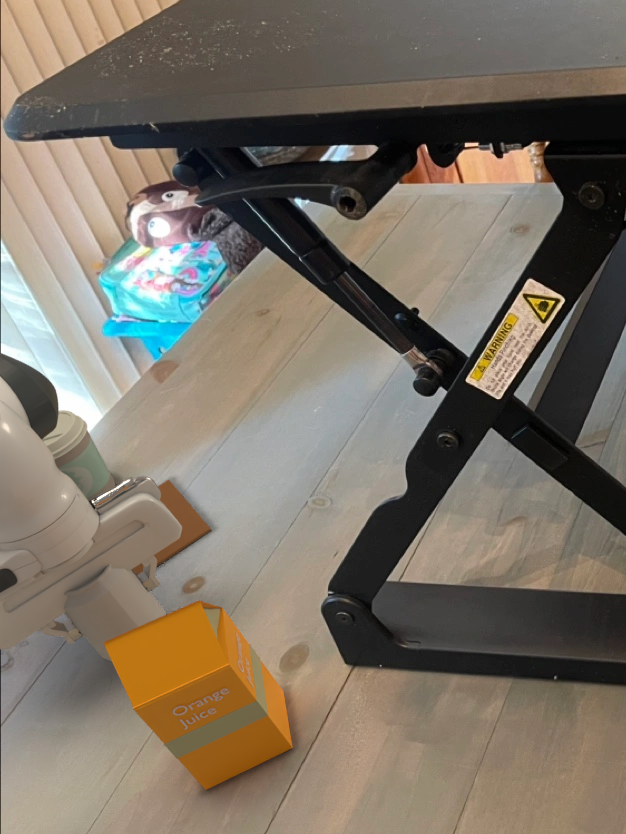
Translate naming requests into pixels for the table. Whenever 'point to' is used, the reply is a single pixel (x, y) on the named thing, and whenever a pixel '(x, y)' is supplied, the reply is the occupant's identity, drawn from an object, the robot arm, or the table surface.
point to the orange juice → (203, 692)
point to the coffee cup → (78, 455)
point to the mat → (185, 516)
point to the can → (111, 607)
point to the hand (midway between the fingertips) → (114, 611)
